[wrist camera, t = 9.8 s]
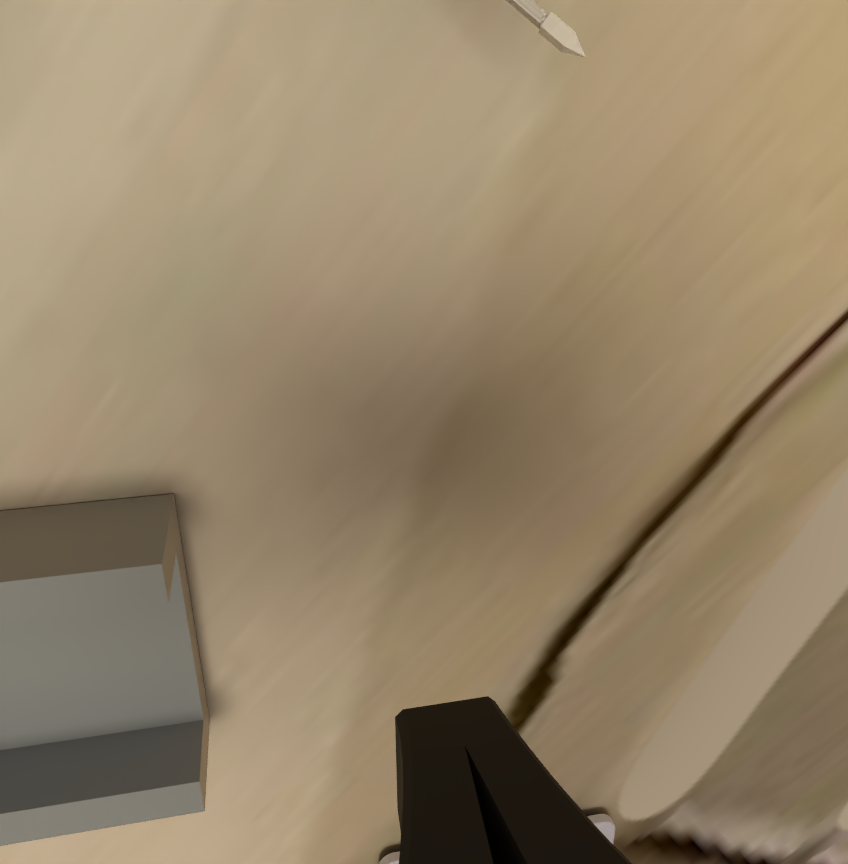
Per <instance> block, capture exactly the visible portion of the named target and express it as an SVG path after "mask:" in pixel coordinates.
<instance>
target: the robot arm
mask: <svg viewBox="0 0 848 864" xmlns="http://www.w3.org/2000/svg"><path fill="white" fill-rule="evenodd" d="M395 726H396V763H397V800H398V815H399V821H400V829H401V844H400V851H398V852H393V853H390V854H388V855H386V856H385V857H383V858H382V860H381V861H380V863H379V864H631V862H630V861H629V860H628V859H627V858H626V857H625V856H624V855H623V854H622V853H621V852H620V851H619V850H618V849H617V848H616V847H615V846H614V845H613V843H614V836H615V825H614V823H613V821H612V819H611V817H610V816H609V815H606V814H596V815H590V816H586V814H585V813H584V812H583V811H582V810H581V809H580V808H579V807H578V805H577V804H576V803H575V802H574V801H573V800H572V799H571V797H570V796H569V795H568V794H567V793H566V792H565V791H564V790H563V788H562V787H561V786H560V785H559V784H558V782H557V781H556V780H555V779H554V778H553V777H552V775H551V774H550V773H549V772H548V770H547V769H546V768H545V767H544V766H543V764H542V763H541V762H540V761H539V759H538V758H537V757H536V756H535V754H534V753H533V752H532V751H531V749H530V748H529V747H528V746H527V744H526V743H525V742H524V740H523V739H522V738H521V736H520V735H519V734H518V733H517V731H516V730H515V729H514V727H513V726H512V725H511V723H510V722H509V720H508V719H507V718H506V716H505V715H504V714H503V712H502V711H501V709H500V708H499V707H498V705H497V704H496V702H495V701H493V700H492V699H491V698H490V697H481V698H475V699H468V700H462V701H455V702H449V703H442V704H436V705H429V706H423V707H416V708H410V709H403V710H402V711H401V712H400V713H399V714H398V715H397V716H396V717H395Z"/></svg>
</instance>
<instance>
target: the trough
mask: <svg viewBox="0 0 848 864" xmlns="http://www.w3.org/2000/svg"><path fill="white" fill-rule="evenodd" d="M209 723H210V719H209V713H208V707H207V701H206V694H205V688H204V682H203V675H202V669H201V663H200V656H199V650H198V644H197V637H196V631H195V625H194V619H193V612H192V606H191V600H190V593H189V587H188V581H187V574H186V568H185V562H184V556H183V549H182V543H181V537H180V530H179V524H178V518H177V511H176V505H175V499H174V494H166V495H156V496H146V497H136V498H126V499H116V500H106V501H96V502H86V503H75V504H65V505H55V506H45V507H35V508H25V509H15V510H5V511H0V846H3V845H8V844H14V843H20V842H26V841H32V840H38V839H44V838H50V837H55V836H61V835H67V834H73V833H79V832H85V831H91V830H96V829H102V828H108V827H114V826H120V825H126V824H132V823H138V822H143V821H149V820H155V819H161V818H167V817H173V816H179V815H185V814H190V813H196V812H202V811H205V795H206V777H207V759H208V741H209Z"/></svg>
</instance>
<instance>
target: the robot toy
mask: <svg viewBox="0 0 848 864" xmlns="http://www.w3.org/2000/svg"><path fill="white" fill-rule="evenodd" d="M506 1H508V2H509V3H510V4H511V5H512V6H513V7H515V8H516V9H517V10H518V11H519V12H520V13H522V14H523V15H524V16H525V17H526V18H527V19H529V20H530V21H531V22H532V23H533V24H534V25H536V26H537V27H538V28H539V29H540V30H539V33H540V34H541V35H542V36H543V37H545V38H546V39H547V40H548V41H549V42H550V43H552V44H553V45H554V46H555V47H556V48H557V49H559V50H560V51H561V52H564V53H569V54H574V55H578V56H583V57H585V54H584V52H583V50H582V47H581V45H580V43H579V40H578V38H577V36H576V33H575V31H573V30H572V29H571V28H570V27H569V26H568V25H567V24H565V23H564V22H563V21H562V20H561V19H560V18H558V17H557V16H556V15H555V14H554V13H553V12H551V13H550V14H548V13H547V12H546V11H545V10H544V9H542V8H541V7H540V6H539V5H538V4H537V3H535V2H534V1H533V0H506Z"/></svg>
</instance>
